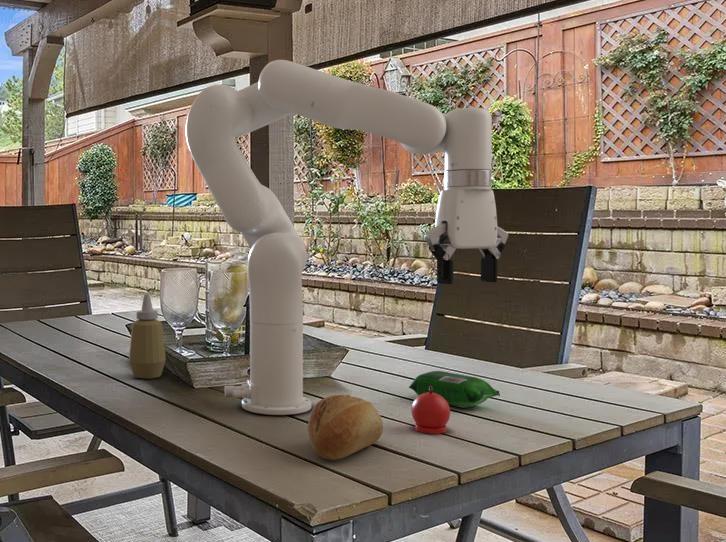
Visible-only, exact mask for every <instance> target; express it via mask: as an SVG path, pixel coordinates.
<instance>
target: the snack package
mask: <svg viewBox="0 0 726 542" xmlns="http://www.w3.org/2000/svg"><path fill="white" fill-rule="evenodd" d="M429 386H432V393H436V394H439V395H440V396H442V397H443V398H444V399H445V400H446V401H447V403H448V405H449V406H451V407H457V408H464V409H468V408H471V407H474V406H477V405H480V404H482V403H485V402H486V401H487V400H488V399H489V398H493V397H496V396H498V397H501V394H500V390H496V389H495V388H494V387H492V385H491V384H490V383H489V382H488V381H486V380H484V379H481V378H479V377H476V376H470V375H465V374H459V373H453V372H447V371H442V370H432V371H428V372H425V373H421V374H419V375H417V376H416V377H415V379H413V380H412V382H411V383H410V384H409V386H408V388H409V389H410V390H412V391H413V392H414V393H415V394H416V395H417V397H418V396H419V395H421V394H423V393H427V392H429Z"/></svg>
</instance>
